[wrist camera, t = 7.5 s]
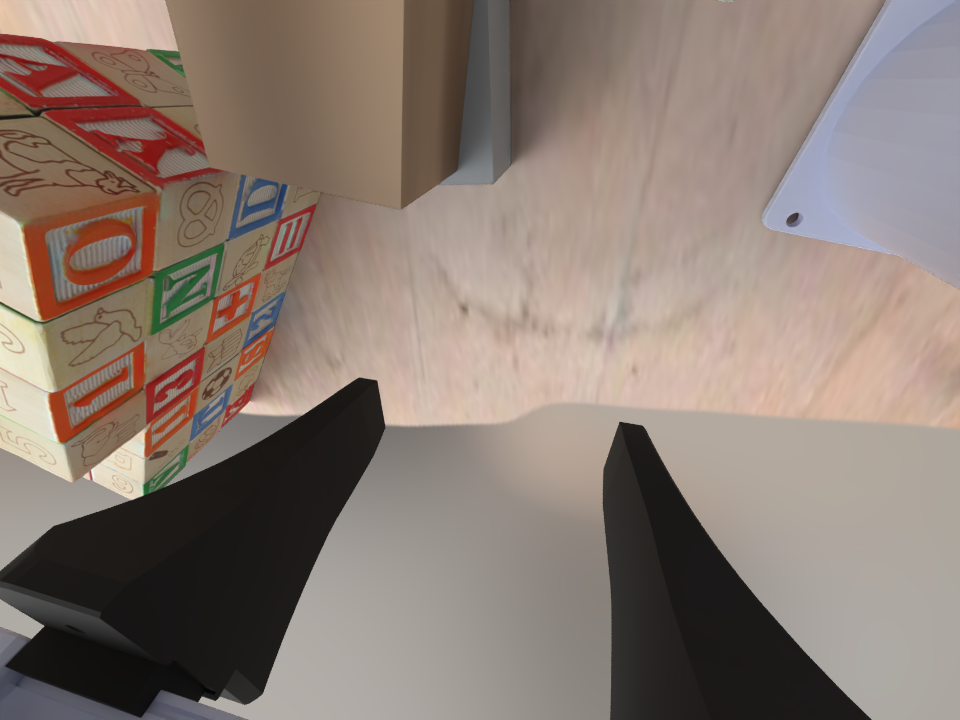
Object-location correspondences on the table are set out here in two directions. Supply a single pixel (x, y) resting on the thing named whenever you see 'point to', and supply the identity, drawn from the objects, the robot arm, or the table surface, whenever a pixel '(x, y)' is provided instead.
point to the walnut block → (329, 91)
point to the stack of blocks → (127, 266)
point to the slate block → (486, 98)
